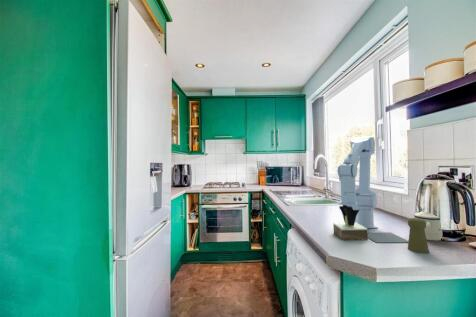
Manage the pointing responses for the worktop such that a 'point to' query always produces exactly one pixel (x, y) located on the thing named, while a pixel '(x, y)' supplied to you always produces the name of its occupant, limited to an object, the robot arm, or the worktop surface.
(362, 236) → the box
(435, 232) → the teacup with lid
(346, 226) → the lid
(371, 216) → the robot arm
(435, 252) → the worktop surface
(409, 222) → the olive pepper mill
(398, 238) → the slate mat
